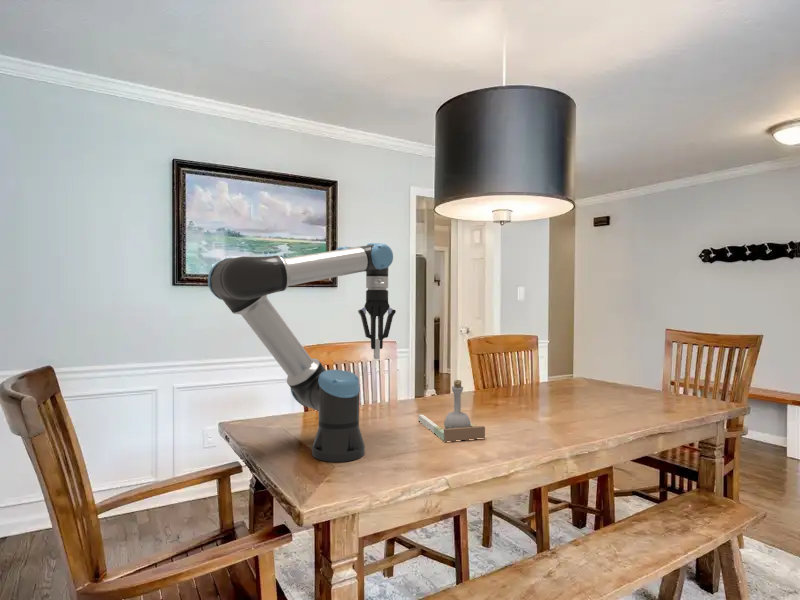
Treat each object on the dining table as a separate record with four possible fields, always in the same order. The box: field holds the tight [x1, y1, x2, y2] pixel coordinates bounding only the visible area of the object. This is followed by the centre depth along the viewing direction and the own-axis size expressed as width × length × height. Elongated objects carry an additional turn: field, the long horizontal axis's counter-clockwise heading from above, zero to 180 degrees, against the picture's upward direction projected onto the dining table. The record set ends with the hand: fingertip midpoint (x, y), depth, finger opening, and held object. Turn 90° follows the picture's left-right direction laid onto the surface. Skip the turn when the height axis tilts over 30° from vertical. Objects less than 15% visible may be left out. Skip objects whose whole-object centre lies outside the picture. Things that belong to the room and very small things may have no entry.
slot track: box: [418, 414, 486, 443], centre depth 165 cm, size 26×14×4 cm, turn 16°
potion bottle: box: [443, 379, 472, 429], centre depth 159 cm, size 9×9×18 cm
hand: (376, 358), depth 164 cm, fingers closed
